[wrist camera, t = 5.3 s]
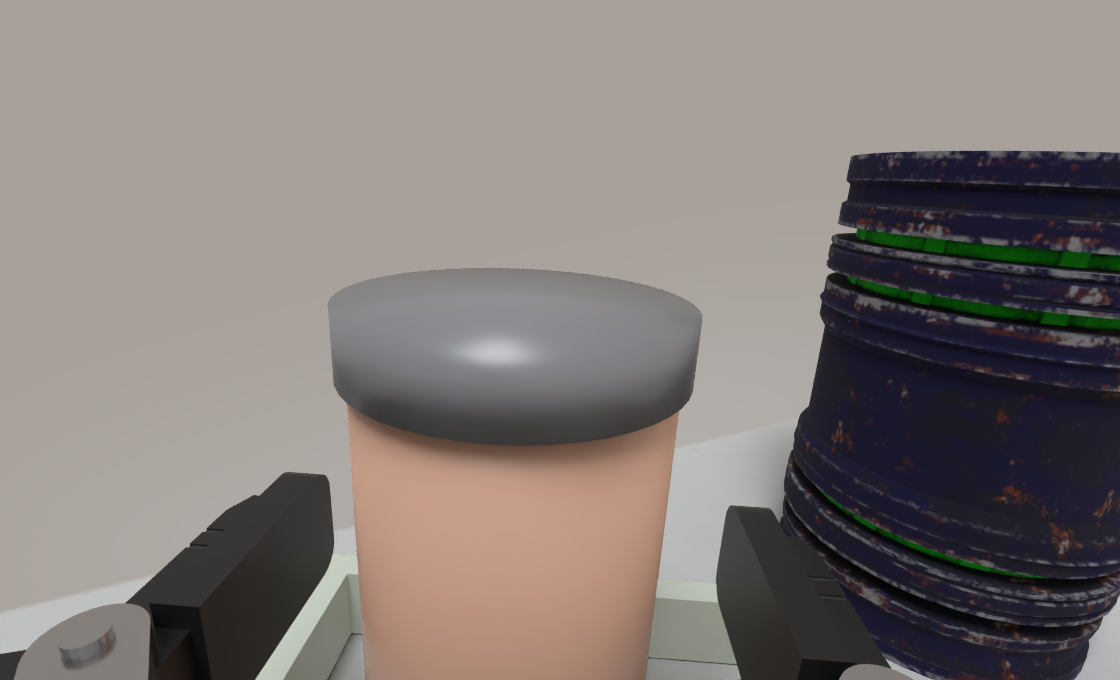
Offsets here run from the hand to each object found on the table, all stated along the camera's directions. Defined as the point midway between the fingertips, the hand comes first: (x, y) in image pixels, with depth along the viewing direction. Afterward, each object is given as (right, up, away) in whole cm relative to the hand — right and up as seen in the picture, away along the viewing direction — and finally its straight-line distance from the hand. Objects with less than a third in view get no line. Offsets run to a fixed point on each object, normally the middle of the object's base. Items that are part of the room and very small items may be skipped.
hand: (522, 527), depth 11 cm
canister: (0, -7, 0) cm, 7 cm away
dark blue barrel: (+14, -5, +10) cm, 18 cm away
